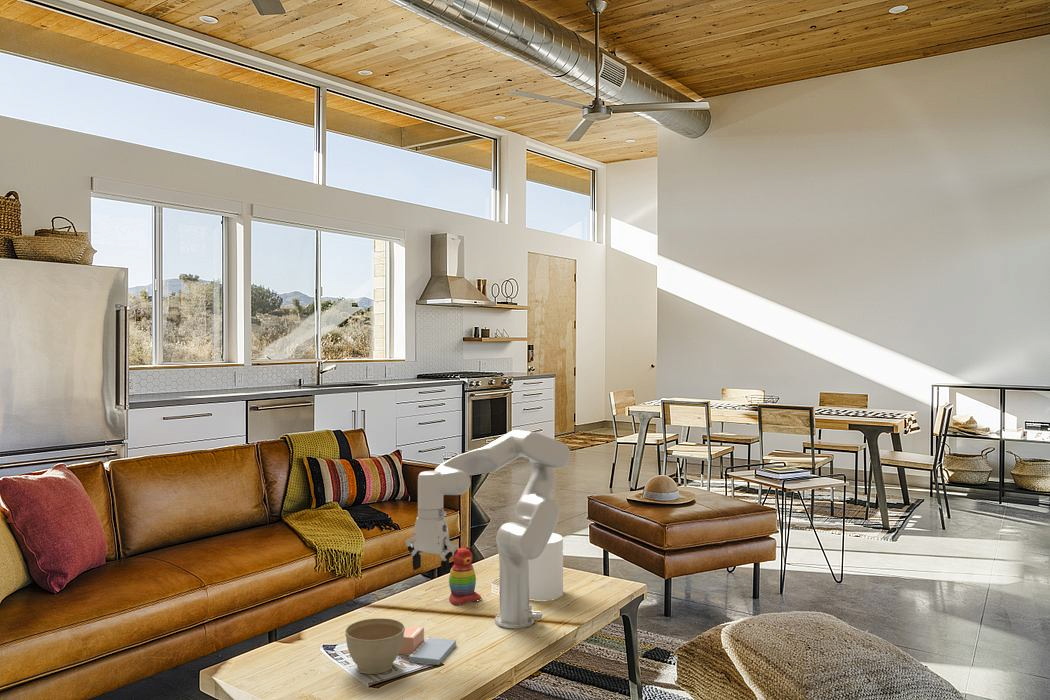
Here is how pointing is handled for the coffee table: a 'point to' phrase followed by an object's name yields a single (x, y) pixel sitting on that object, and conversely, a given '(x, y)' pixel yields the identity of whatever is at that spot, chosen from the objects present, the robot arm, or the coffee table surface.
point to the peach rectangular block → (412, 639)
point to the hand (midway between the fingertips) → (430, 571)
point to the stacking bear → (462, 578)
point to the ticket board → (432, 651)
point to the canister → (547, 571)
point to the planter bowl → (374, 643)
